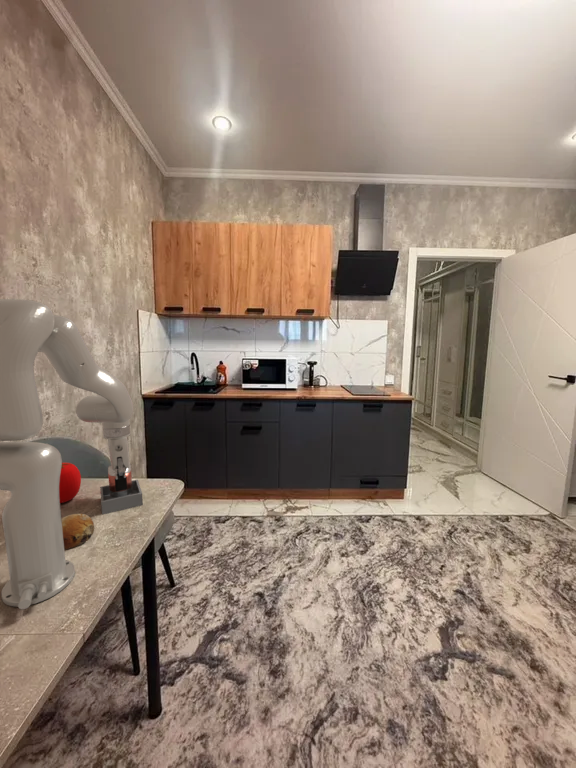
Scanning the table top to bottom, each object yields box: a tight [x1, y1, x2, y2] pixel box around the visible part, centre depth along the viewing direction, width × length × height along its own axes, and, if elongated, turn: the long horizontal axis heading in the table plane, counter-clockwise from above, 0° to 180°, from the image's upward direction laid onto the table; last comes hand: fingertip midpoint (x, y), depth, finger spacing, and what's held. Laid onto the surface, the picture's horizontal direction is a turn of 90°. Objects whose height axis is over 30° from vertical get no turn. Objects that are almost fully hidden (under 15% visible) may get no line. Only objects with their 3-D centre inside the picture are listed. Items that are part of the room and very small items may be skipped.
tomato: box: [59, 462, 82, 504], centre depth 105 cm, size 12×12×13 cm
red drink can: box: [107, 463, 133, 498], centre depth 104 cm, size 6×6×9 cm
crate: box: [99, 479, 144, 515], centre depth 105 cm, size 11×11×4 cm
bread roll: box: [61, 513, 96, 550], centre depth 87 cm, size 10×10×8 cm
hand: (120, 484), depth 105 cm, fingers closed on red drink can, 6 cm apart
